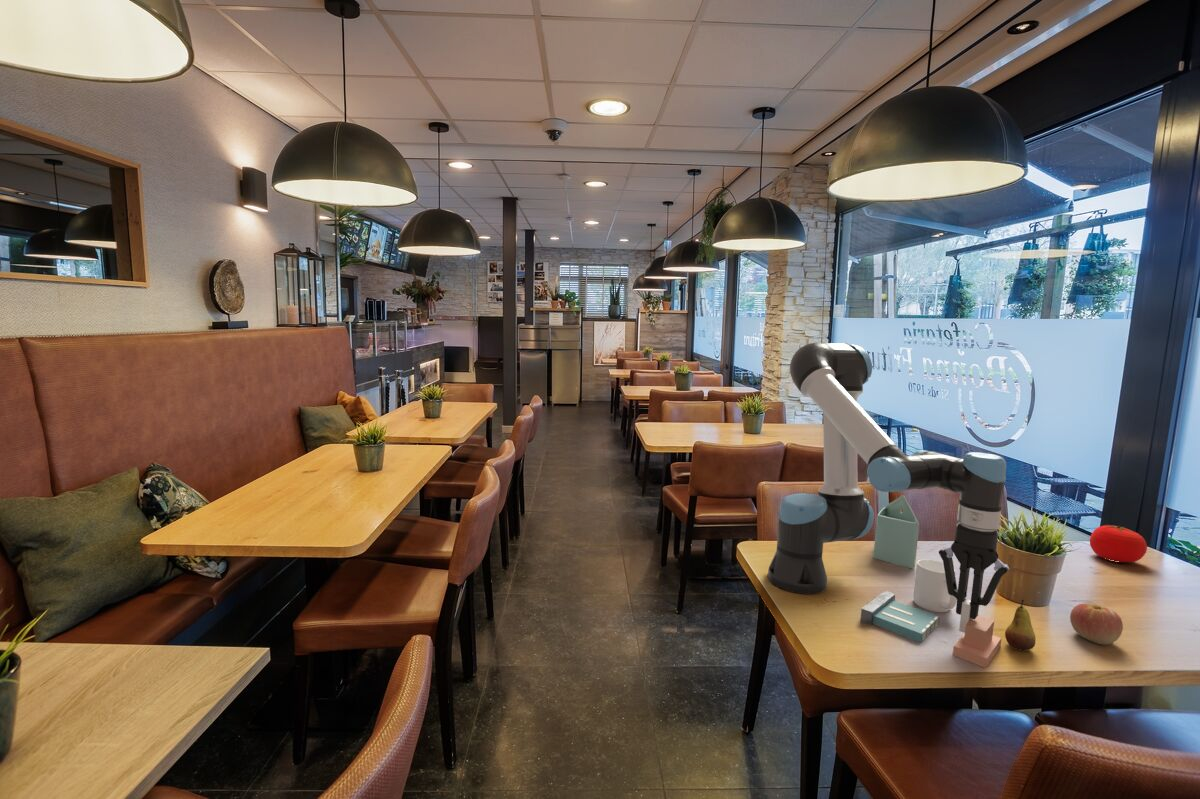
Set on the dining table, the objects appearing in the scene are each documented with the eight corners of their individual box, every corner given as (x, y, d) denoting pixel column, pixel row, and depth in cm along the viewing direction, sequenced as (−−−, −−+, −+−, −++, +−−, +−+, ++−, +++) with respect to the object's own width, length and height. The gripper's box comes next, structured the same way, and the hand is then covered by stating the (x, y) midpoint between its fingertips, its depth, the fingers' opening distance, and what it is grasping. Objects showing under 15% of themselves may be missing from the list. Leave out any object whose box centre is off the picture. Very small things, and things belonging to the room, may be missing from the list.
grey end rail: (860, 621, 132) (861, 608, 132) (883, 602, 142) (885, 590, 142) (870, 625, 131) (872, 612, 130) (894, 606, 140) (895, 594, 140)
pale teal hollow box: (858, 547, 179) (864, 487, 177) (881, 547, 180) (887, 487, 178) (889, 569, 163) (896, 503, 161) (915, 569, 164) (922, 503, 162)
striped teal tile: (861, 619, 133) (861, 610, 133) (880, 603, 142) (881, 595, 141) (921, 642, 124) (922, 633, 124) (938, 624, 132) (939, 615, 132)
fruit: (1042, 655, 121) (1049, 602, 119) (1016, 655, 120) (1024, 602, 119) (1020, 640, 126) (1027, 590, 125) (996, 641, 126) (1003, 590, 124)
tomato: (1090, 549, 185) (1095, 517, 183) (1145, 562, 175) (1151, 528, 174) (1084, 558, 177) (1089, 524, 175) (1142, 572, 167) (1147, 536, 166)
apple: (1106, 653, 122) (1111, 619, 121) (1059, 633, 130) (1064, 600, 129) (1128, 646, 126) (1133, 612, 125) (1081, 626, 134) (1086, 594, 133)
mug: (969, 621, 134) (974, 580, 133) (935, 621, 134) (940, 579, 133) (936, 597, 146) (941, 559, 145) (906, 597, 146) (910, 559, 145)
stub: (952, 654, 120) (955, 626, 119) (968, 635, 128) (971, 608, 127) (985, 667, 115) (989, 638, 115) (1000, 646, 124) (1003, 619, 123)
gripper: (937, 521, 122) (926, 623, 125) (1010, 538, 113) (995, 649, 116) (948, 514, 127) (936, 613, 130) (1018, 530, 118) (1004, 636, 121)
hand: (964, 629), depth 123 cm, fingers closed
